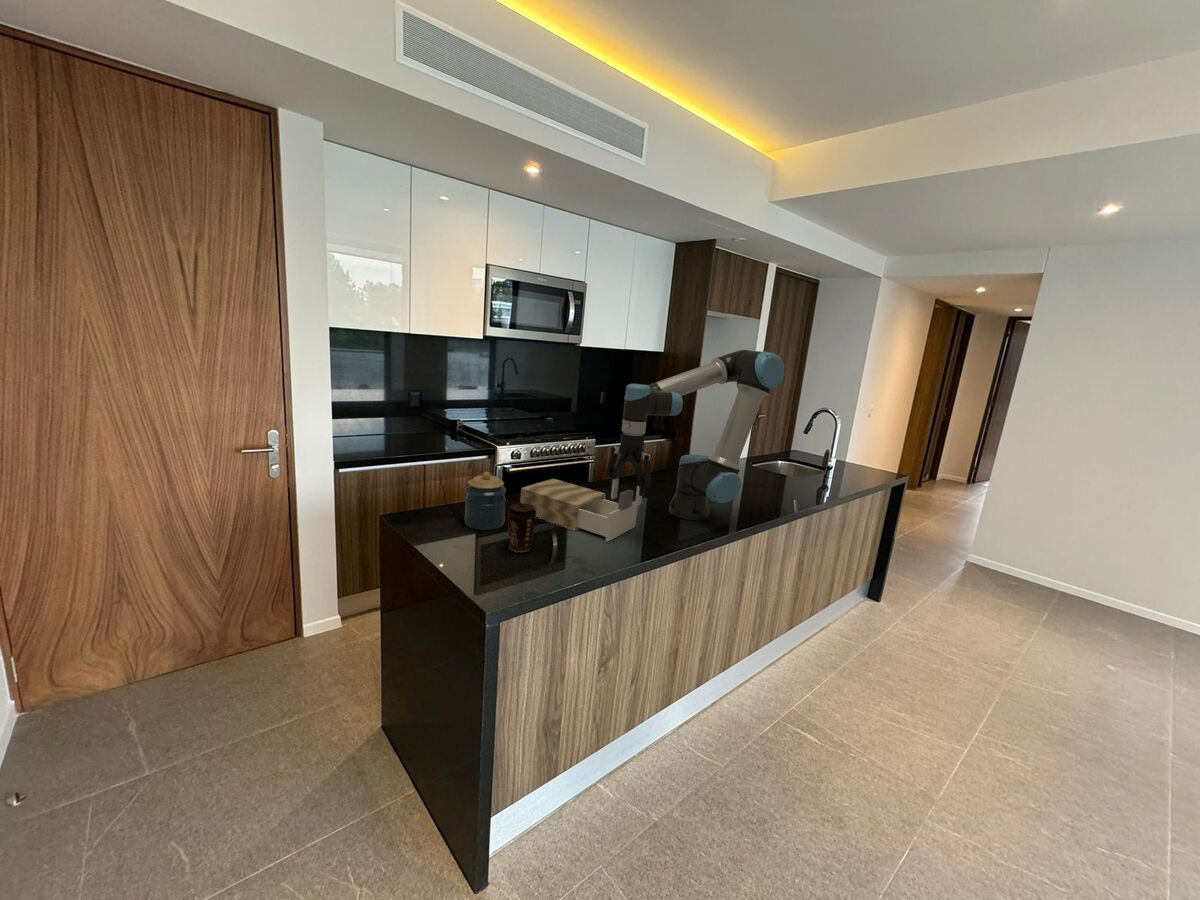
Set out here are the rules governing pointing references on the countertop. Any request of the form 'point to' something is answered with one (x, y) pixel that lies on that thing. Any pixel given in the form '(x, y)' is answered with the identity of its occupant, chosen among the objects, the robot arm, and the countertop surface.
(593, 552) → the countertop surface
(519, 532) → the coffee cup
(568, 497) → the mailer sleeve
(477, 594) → the countertop surface
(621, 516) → the tray
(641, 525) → the countertop surface
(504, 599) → the countertop surface
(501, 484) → the canister
